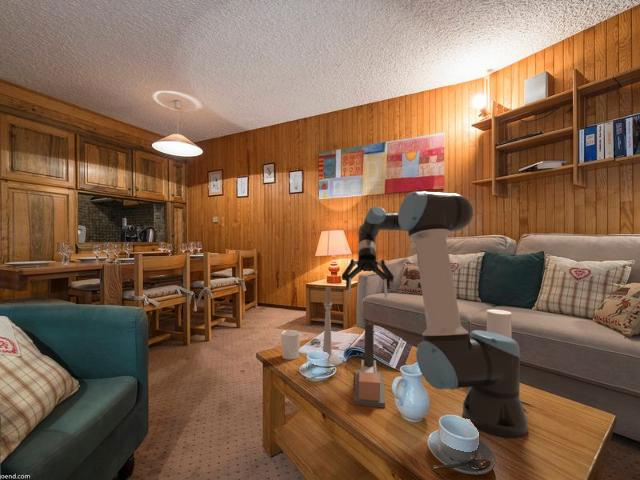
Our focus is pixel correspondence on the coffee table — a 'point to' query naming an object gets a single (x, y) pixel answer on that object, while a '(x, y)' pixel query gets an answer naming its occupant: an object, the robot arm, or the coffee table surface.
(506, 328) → the cylindrical container
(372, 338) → the tube
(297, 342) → the white cup
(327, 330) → the candlestick
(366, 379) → the tube stand
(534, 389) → the coffee table surface
